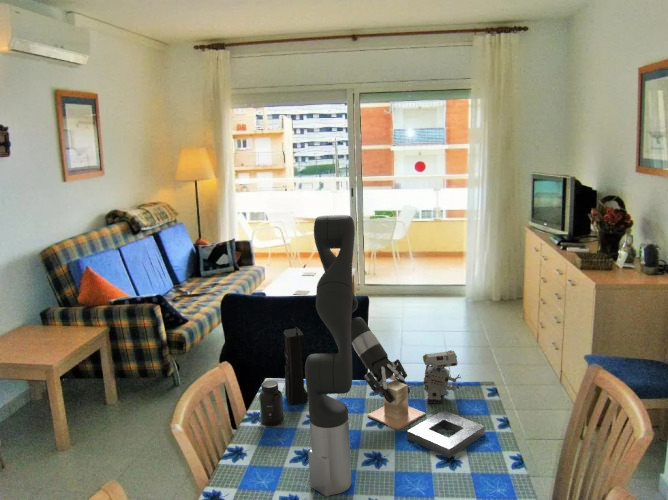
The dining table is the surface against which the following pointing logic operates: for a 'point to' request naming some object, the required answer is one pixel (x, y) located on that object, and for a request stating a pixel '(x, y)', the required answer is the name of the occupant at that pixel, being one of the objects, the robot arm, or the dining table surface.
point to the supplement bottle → (271, 404)
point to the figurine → (438, 374)
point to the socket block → (442, 444)
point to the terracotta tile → (396, 423)
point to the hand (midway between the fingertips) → (400, 397)
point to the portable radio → (294, 367)
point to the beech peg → (397, 400)
